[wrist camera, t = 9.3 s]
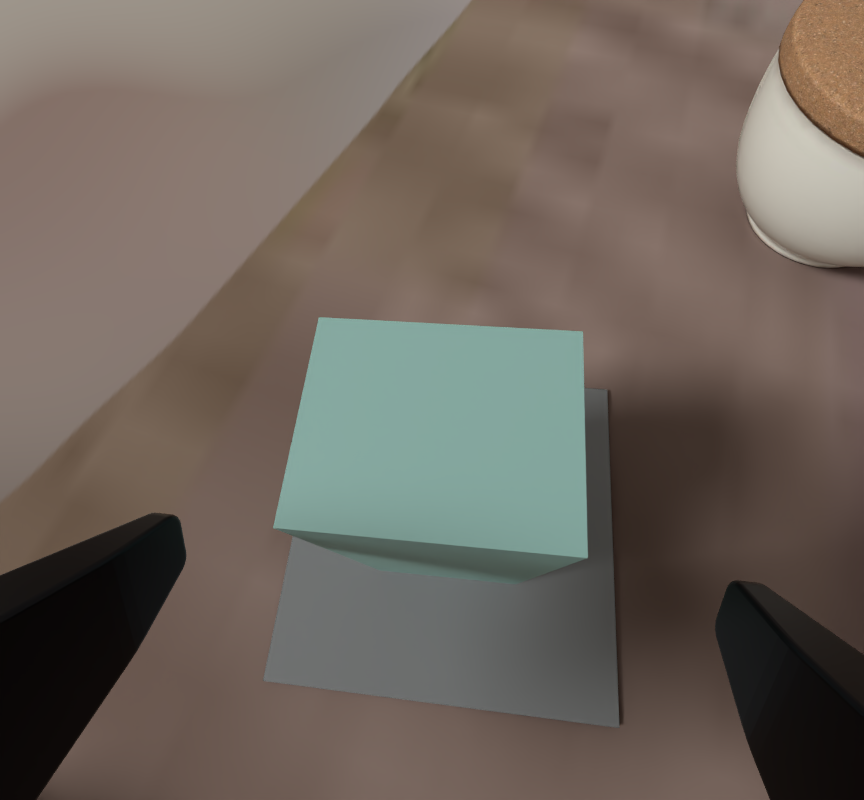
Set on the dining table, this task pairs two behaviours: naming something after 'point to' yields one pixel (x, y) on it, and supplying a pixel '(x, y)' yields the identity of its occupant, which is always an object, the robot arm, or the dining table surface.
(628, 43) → the dining table surface
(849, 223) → the lidded jar
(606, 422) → the mat
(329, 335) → the block
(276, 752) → the dining table surface
